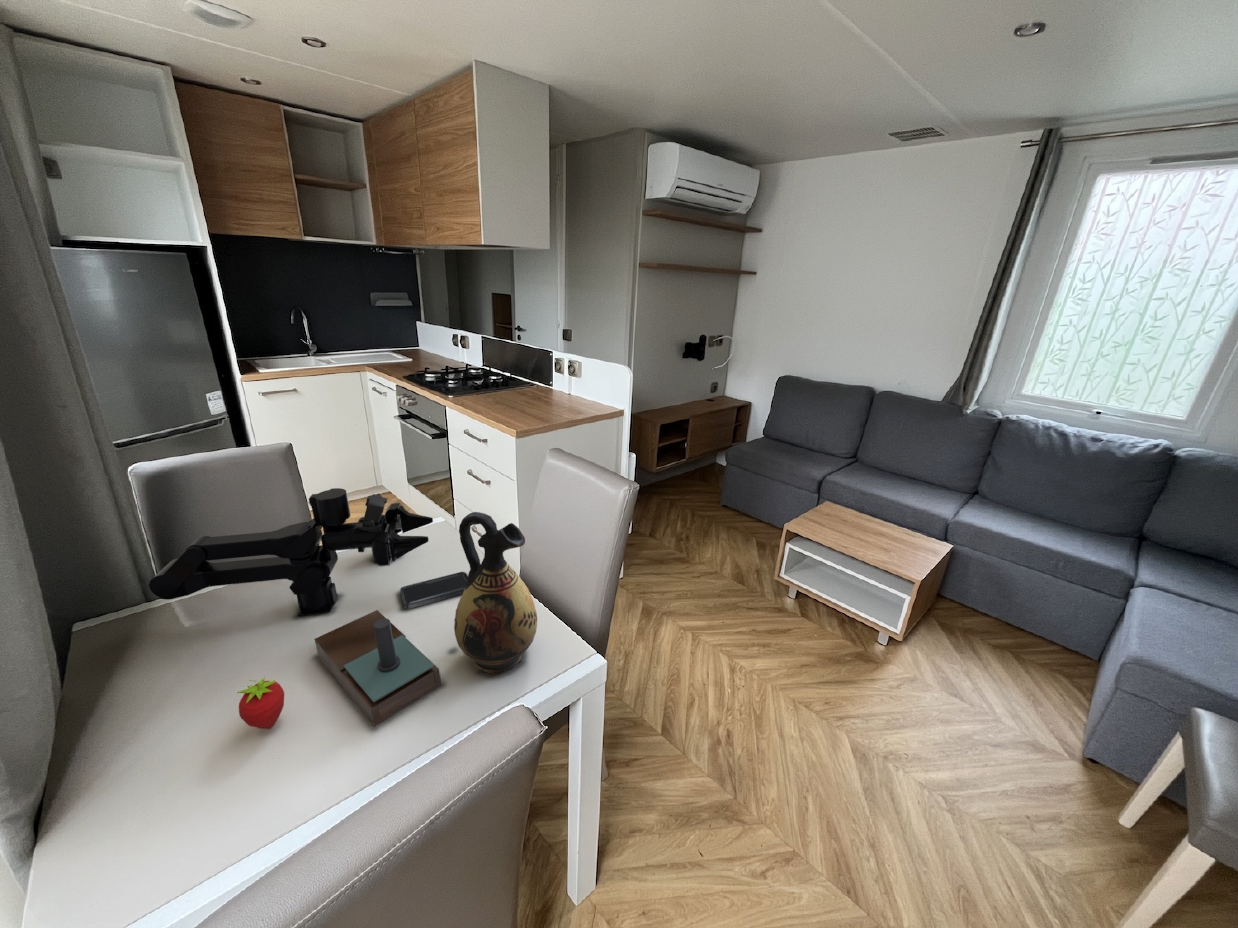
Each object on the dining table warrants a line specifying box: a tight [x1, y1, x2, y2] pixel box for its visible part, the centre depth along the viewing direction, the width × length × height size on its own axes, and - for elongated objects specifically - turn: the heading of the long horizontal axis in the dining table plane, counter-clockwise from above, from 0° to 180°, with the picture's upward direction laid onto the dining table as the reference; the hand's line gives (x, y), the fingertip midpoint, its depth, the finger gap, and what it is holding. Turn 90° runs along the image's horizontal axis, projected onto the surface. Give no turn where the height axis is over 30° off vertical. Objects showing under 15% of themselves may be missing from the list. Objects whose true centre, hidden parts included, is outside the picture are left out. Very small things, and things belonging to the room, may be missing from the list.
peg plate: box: [344, 617, 436, 702], centre depth 85 cm, size 12×11×9 cm
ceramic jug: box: [453, 511, 538, 675], centre depth 92 cm, size 17×15×30 cm
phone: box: [399, 571, 468, 610], centre depth 115 cm, size 8×1×15 cm
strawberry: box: [236, 676, 285, 730], centre depth 78 cm, size 6×8×10 cm
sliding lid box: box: [314, 609, 442, 727], centre depth 92 cm, size 24×12×4 cm, turn 49°
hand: (430, 529), depth 110 cm, fingers open, 9 cm apart
